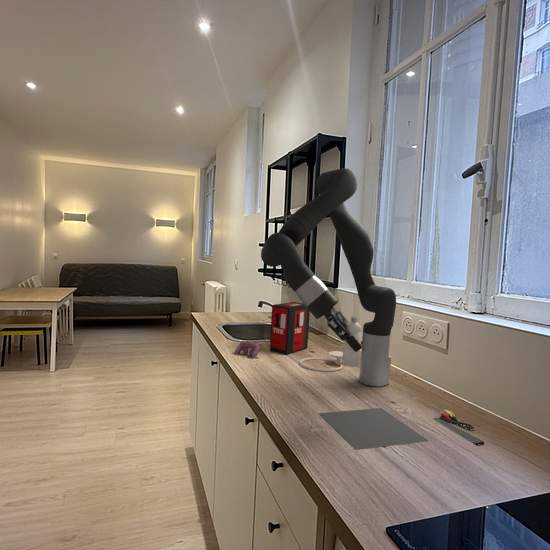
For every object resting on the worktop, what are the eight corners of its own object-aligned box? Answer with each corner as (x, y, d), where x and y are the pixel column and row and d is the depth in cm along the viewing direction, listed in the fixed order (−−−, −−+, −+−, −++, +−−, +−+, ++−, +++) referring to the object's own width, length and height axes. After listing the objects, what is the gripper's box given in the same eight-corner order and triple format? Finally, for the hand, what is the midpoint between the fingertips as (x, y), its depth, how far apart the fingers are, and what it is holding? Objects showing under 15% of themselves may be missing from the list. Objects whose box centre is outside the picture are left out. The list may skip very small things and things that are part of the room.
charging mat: (381, 410, 116) (381, 407, 116) (428, 443, 97) (429, 440, 97) (317, 415, 109) (317, 413, 109) (355, 452, 91) (355, 449, 90)
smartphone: (437, 417, 112) (485, 441, 98) (437, 420, 112) (484, 445, 99) (418, 420, 109) (464, 445, 96) (418, 423, 109) (464, 449, 96)
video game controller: (258, 361, 163) (263, 344, 166) (253, 358, 160) (258, 341, 162) (238, 356, 168) (243, 340, 171) (232, 353, 165) (238, 337, 167)
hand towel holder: (292, 350, 161) (336, 348, 170) (291, 361, 162) (335, 358, 170) (312, 362, 146) (360, 358, 154) (312, 374, 146) (359, 370, 154)
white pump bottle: (353, 361, 108) (357, 315, 107) (362, 366, 104) (366, 318, 103) (338, 362, 107) (342, 315, 106) (347, 367, 103) (350, 318, 102)
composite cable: (476, 431, 106) (477, 422, 106) (462, 433, 104) (463, 424, 104) (446, 416, 115) (447, 407, 115) (434, 417, 113) (434, 409, 113)
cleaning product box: (286, 355, 169) (289, 307, 167) (269, 351, 174) (272, 304, 173) (307, 348, 182) (310, 304, 181) (290, 344, 187) (293, 301, 186)
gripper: (323, 290, 99) (370, 344, 97) (330, 285, 113) (371, 333, 111) (300, 309, 101) (346, 363, 99) (310, 302, 115) (350, 350, 113)
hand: (359, 347), depth 105 cm, fingers closed on white pump bottle, 4 cm apart
